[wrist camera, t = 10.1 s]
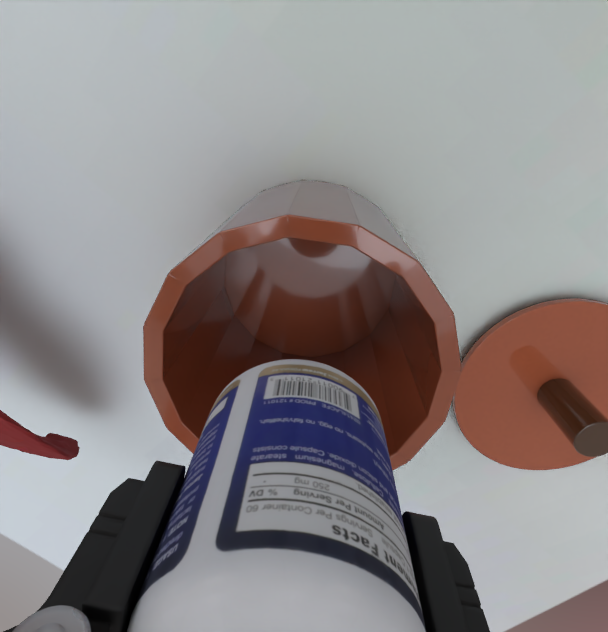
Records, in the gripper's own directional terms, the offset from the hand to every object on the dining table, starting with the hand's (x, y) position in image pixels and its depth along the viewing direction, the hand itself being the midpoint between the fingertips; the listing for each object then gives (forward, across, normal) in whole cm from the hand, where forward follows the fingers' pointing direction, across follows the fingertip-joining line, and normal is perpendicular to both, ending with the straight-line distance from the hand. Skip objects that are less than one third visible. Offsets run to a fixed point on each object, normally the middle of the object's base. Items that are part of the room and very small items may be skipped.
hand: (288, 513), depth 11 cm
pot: (+19, 0, 0) cm, 19 cm away
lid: (+19, -19, +4) cm, 27 cm away
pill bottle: (+4, 0, 0) cm, 4 cm away
